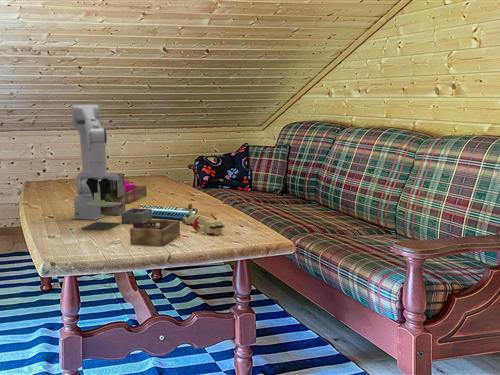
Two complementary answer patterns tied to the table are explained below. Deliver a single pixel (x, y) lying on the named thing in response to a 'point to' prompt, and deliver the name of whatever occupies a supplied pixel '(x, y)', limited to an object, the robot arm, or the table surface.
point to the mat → (101, 226)
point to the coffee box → (115, 196)
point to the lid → (101, 201)
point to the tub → (136, 215)
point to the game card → (140, 225)
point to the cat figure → (203, 222)
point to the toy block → (129, 187)
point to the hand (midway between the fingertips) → (99, 199)
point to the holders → (150, 234)
